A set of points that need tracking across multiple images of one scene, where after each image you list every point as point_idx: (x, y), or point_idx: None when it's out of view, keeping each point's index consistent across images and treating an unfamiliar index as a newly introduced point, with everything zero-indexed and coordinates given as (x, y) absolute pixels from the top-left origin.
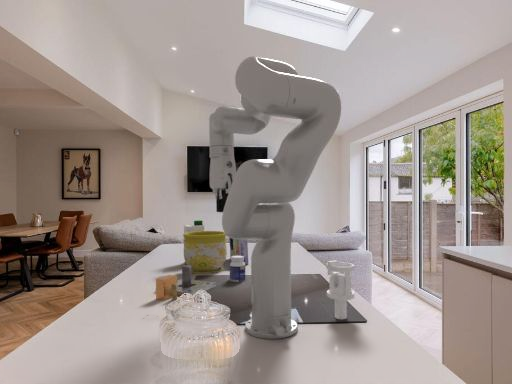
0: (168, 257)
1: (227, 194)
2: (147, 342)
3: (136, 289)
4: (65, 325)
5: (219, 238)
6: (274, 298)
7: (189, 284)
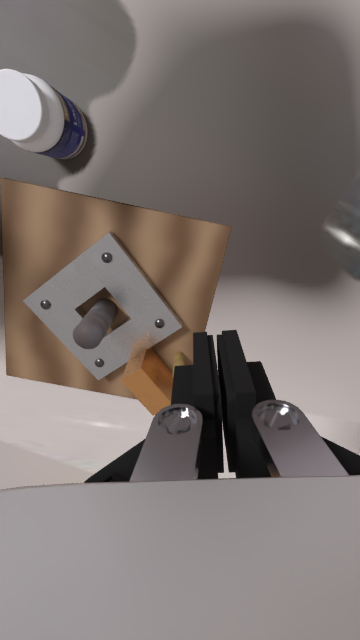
0: None
1: (354, 471)
2: (336, 428)
3: (24, 389)
4: None
5: None
6: None
7: (113, 312)
